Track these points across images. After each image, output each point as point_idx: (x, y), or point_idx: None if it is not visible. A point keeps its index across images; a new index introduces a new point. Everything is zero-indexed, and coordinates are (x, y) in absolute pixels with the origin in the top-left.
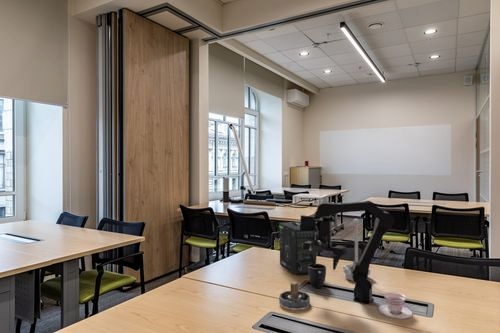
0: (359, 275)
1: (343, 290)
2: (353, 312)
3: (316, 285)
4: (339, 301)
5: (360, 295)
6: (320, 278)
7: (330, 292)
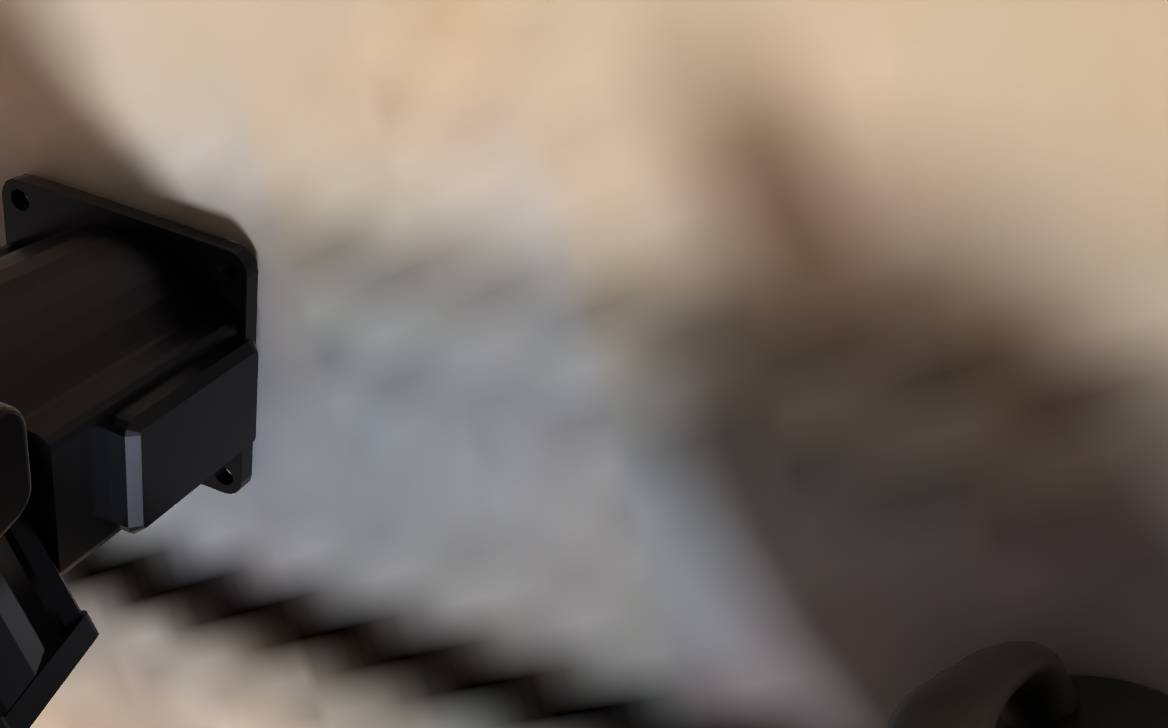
0: None
1: (539, 657)
2: None
3: (1096, 710)
4: (458, 107)
5: (53, 265)
6: (932, 692)
7: (742, 517)
